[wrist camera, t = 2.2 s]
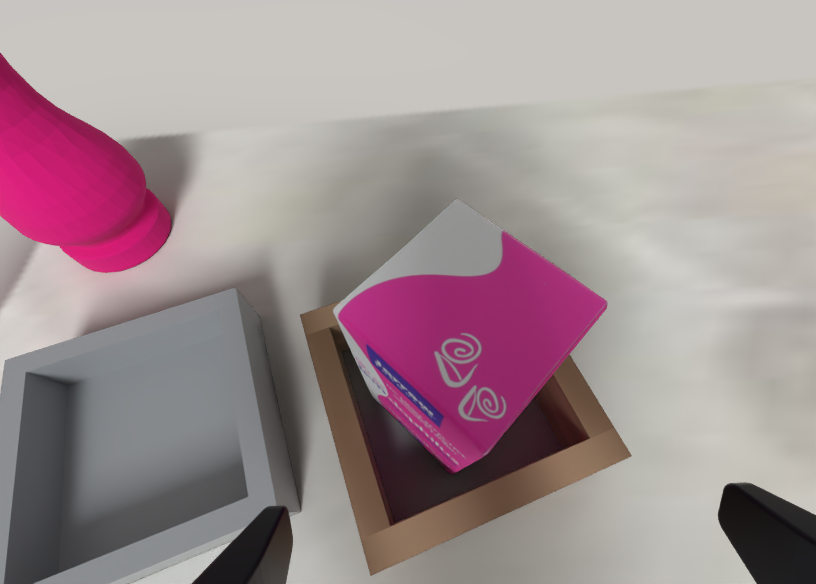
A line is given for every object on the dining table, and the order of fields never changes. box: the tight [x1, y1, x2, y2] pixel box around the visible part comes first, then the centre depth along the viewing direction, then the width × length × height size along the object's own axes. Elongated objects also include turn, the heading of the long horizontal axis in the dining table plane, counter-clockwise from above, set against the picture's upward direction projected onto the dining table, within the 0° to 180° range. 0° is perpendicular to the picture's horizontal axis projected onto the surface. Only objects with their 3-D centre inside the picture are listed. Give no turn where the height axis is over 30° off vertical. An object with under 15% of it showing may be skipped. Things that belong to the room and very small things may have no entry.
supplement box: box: [333, 199, 607, 475], centre depth 16 cm, size 6×6×12 cm
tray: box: [0, 287, 301, 584], centre depth 18 cm, size 11×11×4 cm
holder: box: [300, 301, 631, 575], centre depth 19 cm, size 11×11×4 cm
